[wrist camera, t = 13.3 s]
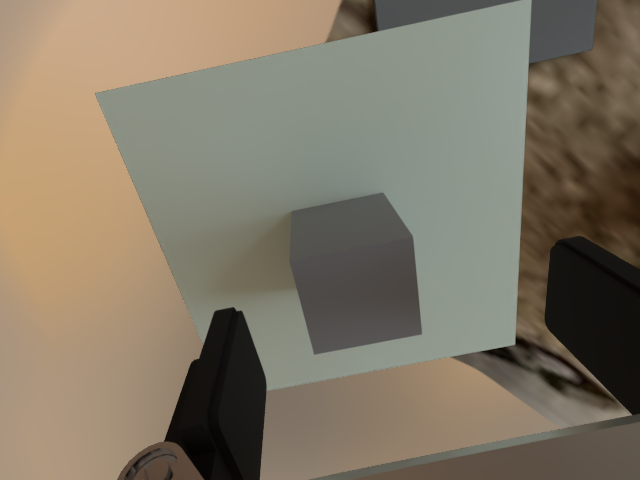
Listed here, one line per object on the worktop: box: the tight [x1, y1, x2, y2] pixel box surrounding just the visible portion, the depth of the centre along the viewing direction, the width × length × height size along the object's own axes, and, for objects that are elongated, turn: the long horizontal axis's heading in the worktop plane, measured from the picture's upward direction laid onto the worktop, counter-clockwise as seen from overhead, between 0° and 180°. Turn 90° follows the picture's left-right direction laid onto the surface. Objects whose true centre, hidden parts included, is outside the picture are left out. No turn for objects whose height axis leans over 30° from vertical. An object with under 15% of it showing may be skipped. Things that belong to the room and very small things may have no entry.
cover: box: [95, 0, 532, 391], centre depth 23 cm, size 16×16×23 cm
